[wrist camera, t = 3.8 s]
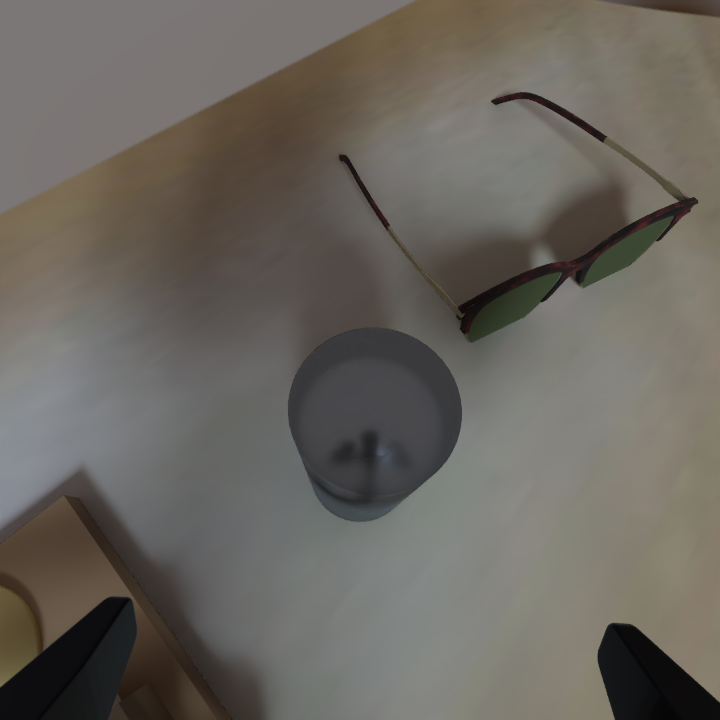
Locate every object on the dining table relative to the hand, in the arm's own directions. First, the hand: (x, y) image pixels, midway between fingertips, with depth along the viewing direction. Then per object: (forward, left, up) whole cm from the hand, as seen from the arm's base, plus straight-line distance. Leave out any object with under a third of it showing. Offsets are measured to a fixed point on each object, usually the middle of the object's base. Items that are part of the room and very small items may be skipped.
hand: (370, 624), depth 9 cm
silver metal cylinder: (+3, -3, -12) cm, 13 cm away
